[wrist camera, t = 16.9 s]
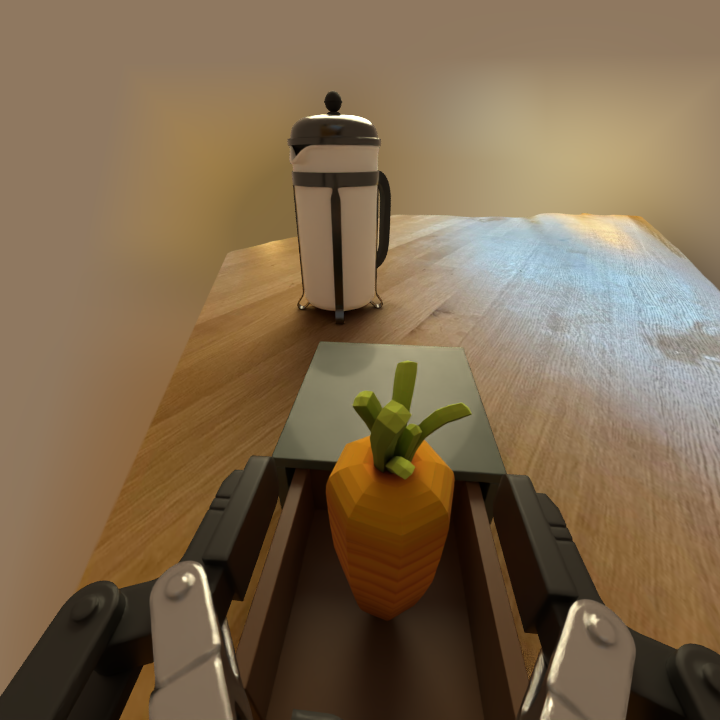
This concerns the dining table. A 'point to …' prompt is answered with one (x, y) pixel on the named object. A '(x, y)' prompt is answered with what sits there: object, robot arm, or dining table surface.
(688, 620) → the dining table surface
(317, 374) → the cabinet
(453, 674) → the drawer
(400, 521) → the carrot
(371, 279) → the coffee press
